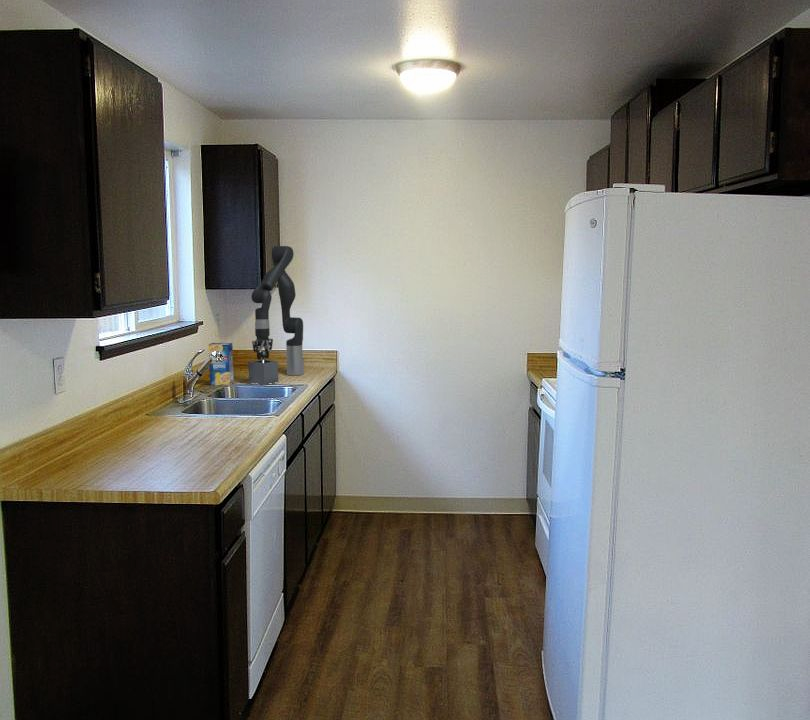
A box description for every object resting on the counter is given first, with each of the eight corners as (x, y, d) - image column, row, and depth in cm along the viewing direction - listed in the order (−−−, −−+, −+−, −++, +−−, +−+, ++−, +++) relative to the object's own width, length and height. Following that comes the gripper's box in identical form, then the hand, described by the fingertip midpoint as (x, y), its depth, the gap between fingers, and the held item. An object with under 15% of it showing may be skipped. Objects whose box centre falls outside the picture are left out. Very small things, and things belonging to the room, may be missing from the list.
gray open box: (263, 381, 406) (262, 359, 404) (278, 382, 400) (277, 361, 399) (249, 384, 397) (248, 361, 395) (264, 385, 391) (263, 363, 389)
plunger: (263, 378, 404) (262, 350, 402) (274, 380, 400) (273, 351, 397) (252, 381, 397) (251, 351, 395) (264, 382, 393) (263, 352, 390)
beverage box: (230, 385, 392) (229, 344, 389) (209, 385, 392) (208, 344, 389) (233, 383, 399) (232, 342, 396) (213, 383, 399) (212, 342, 396)
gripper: (266, 326, 402) (266, 357, 405) (247, 328, 390) (248, 360, 392) (276, 326, 398) (277, 357, 401) (258, 328, 386) (259, 361, 389)
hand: (263, 358), depth 397 cm, fingers open, 5 cm apart
